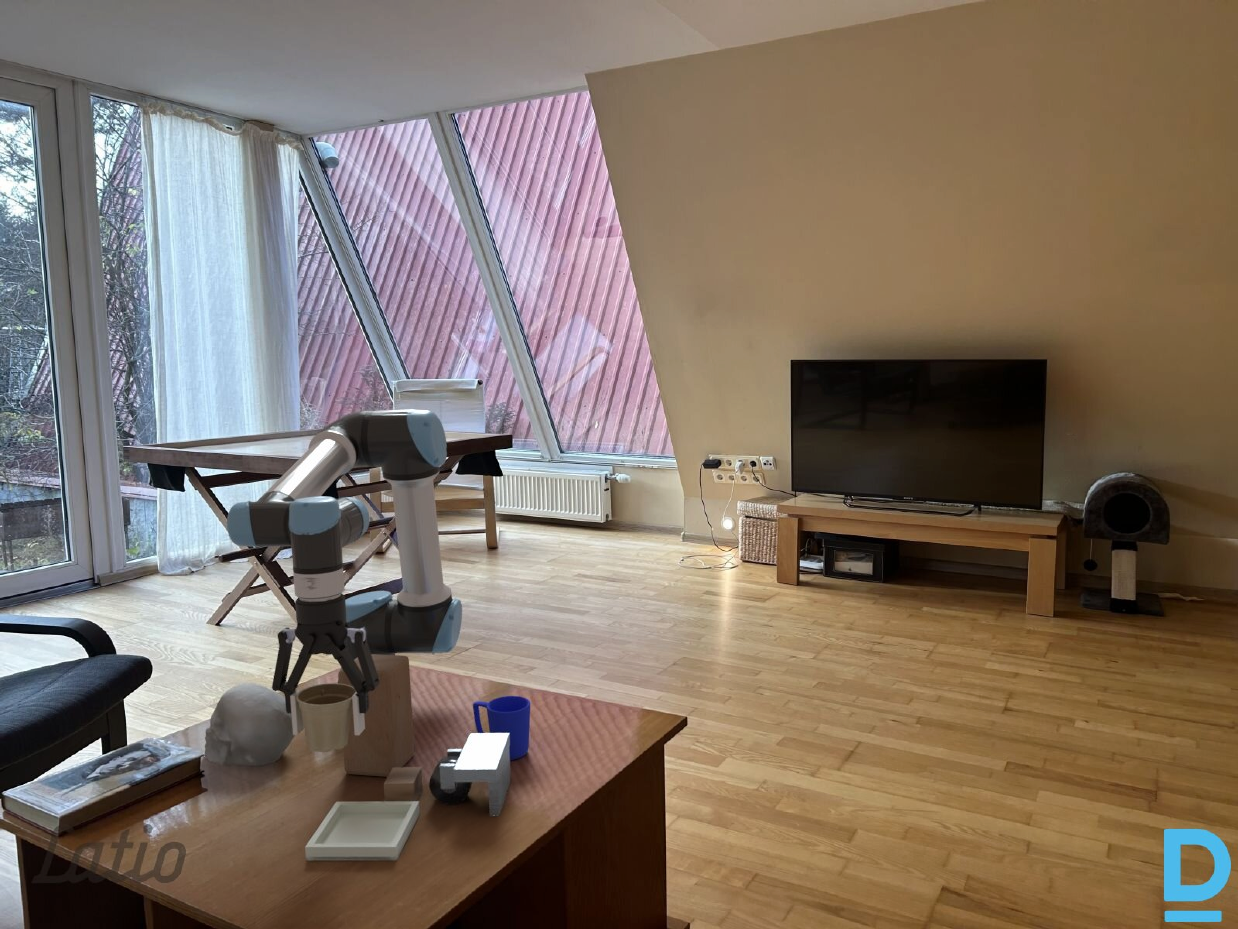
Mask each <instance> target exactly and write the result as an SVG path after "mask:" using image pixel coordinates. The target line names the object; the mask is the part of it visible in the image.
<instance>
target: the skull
mask: <svg viewBox="0 0 1238 929" xmlns="http://www.w3.org/2000/svg"><path fill="white" fill-rule="evenodd" d="M295 736H296V735H293V727H292V713H287V711H286V703H285V696H283V695H282V694H280V693H279V692H278V691H274V690H273V689H272V688H268V687H267V686H264V685H261V684H258V683H257V684H256V683H254V682H253V683H250V682H245V683H244V682H243V683H241V684H238V685H235V686H234V687H231V688H230V689H227V691H225V693H223V694H222V695H221V697H220V699H219V700H218V701H217V703H216V706H215V707H214V710H213V712H212V714H211V717H210V720H209V726H207V727H206V729H205V737H204V739H205V745H204V754H205V757H206V758H207V759H206V758H205V757H204V758H205V759H206V760H208V761H209V760H210V761H209V762H210V763H212V764H216V763H217V765H218V766H223V767H225V766H231V765H232V766H233V765H240V766H246V767H247V766H249V767H252V766H253V767H262V766H266V765H267V766H268V765H270V764H273V763H276V762H277V761H279V760H280V758H281V757H282V755H283V754H284V752H285V751H286V750H287V749H288V747H289V745H290V744H291V742H292V741H293V740H294V737H295ZM204 754H203V755H204Z"/></svg>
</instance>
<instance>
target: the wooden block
mask: <svg viewBox="0 0 1238 929" xmlns="http://www.w3.org/2000/svg"><path fill="white" fill-rule="evenodd" d="M371 655H372V659H373V662H374V665H375V668H376V671H377V674H378V677H379V681H380V684H379V685H378V686H377V687H376V688H375V689H374V690H373V691H369V709H368V711H367V712H366V713H364V719H365V729H364V730H363V731H362V733H361V734H360V735H355V732H354V717H353V705H352V712H351V719H350V726H349V734H348V742H347V744H346V746H344V747H343V748H342V750H343V751H342V752H343V762H344V772H345V773H346V774H348V775H356V776H357V775H360V776H372V777H373V776H375V777H386V778H387V777H388V775H389V774H390V772H391V770H392V768H396V767H405V765H406V764H407V763H408V762H409V761H410V760H411V759H412V758H413V756H414V754H415V741H414V739H415V738H414V721H413V720H414V719H413V707H412V706H413V705H412V704H413V703H412V690H411V689H412V688H411V687H412V686H411V674H410V672H411V670H410V659H409V656H408V655H407V656H406V655H397V654H395V655H379V654H371ZM354 661H355V663H356V664H357V666H358V668H359V669H360V671H361V673H362V674H363V672H362V669H361V666H360V663H359V660H358V657H357V658H356V659H355V660H354ZM337 676H338V677H337V678H338V679H337V681H338V680H339V684H346V685H350V686H352V684H351V682H350V681H349V679H348V677H347V676H346V674H345V672H344V671H343V669H341V668H340V669H339V670H338V675H337ZM363 676H364V675H363Z"/></svg>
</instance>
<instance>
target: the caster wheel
mask: <svg viewBox="0 0 1238 929" xmlns="http://www.w3.org/2000/svg"><path fill="white" fill-rule="evenodd" d="M509 746H510V733H490V732H484V733H478V732H472V733H471V732H470V734H469V735H468V738H467V739H466V742H465V744H464V746H463V748H448V749H447V751H446V754H447V755H446V756H444V757H442V758H441V759H440V760H438V762H437V763H436V766H435V768H434V769H433V771H432V773H431V775H430V778H429V782H428V783H429V784H428V787H429V791H430V793H431V795H432V796H433V798H434V799H435V800H436V801H438V802H440V803H442V804H444V805H451V806H452V805H457V804H459V803H461V802H463V801H464V800H465V799H466V798H467V797H468V795H469V793H470V792H471V789H472V786H473V784H474V783H487V784H488V785H487V786H488V787H487V788H488V805H489V806H488V808H489V809H488V810H489V816H490V815H491V816H490V817H500V816H501V813H500V812H502V810H503V807H504V803H505V800H506V798H507V795H508V792H507V790H508V791H509V789H508V788H510V786H511V785H510V784H511V783H510V782H512V781H511V780H512V778H511V760H510V755H509ZM509 785H510V786H509ZM506 794H507V795H506ZM505 797H506V798H505ZM501 809H502V810H501ZM493 815H495V816H493ZM497 815H498V816H497ZM499 815H500V816H499Z"/></svg>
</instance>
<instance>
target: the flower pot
mask: <svg viewBox="0 0 1238 929" xmlns="http://www.w3.org/2000/svg"><path fill="white" fill-rule="evenodd" d="M300 690H301V691H299V692H298V693H297V695H296V700H297V702H298V703H299V707H300V709H301V710H302V716H303V722H304V734H305V737H306V738H305V740H306V745H307V747H308V748H309V749H310V750H311V751H312V752H314V753H315V752H317V753H330V752H332V751H334V750H341V749H343V747H344V746H346V744H347V742H348V734H349V726H350V719H351V712H352V705H353V701H352V696H353V695H354V693H355V692H356V691H355V689H354V687H353V686H350V685H346V684H338V683H336V682H335V683H334V682H333V683H327V682H326V683H321V684H315V685H311V686H307V687H305V688H302V689H300Z"/></svg>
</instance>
